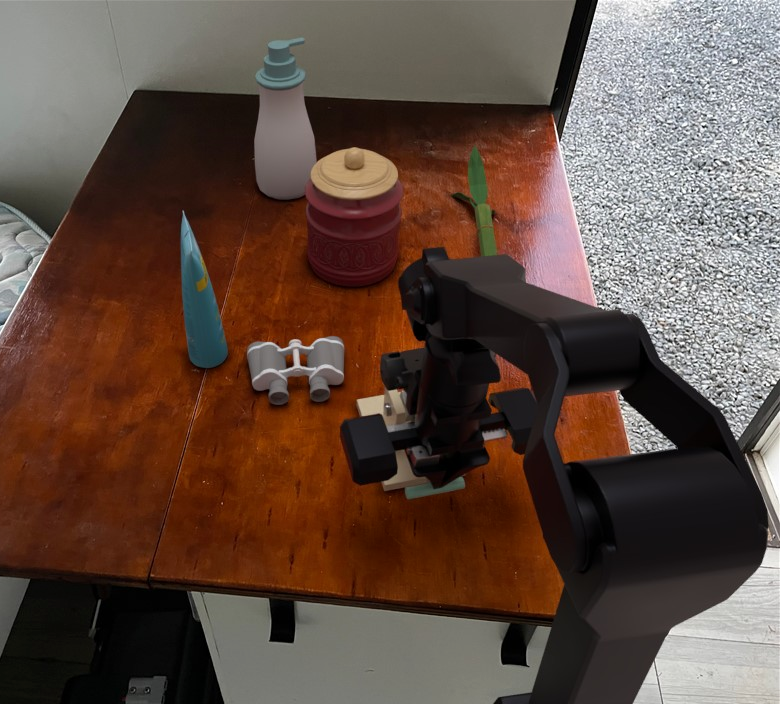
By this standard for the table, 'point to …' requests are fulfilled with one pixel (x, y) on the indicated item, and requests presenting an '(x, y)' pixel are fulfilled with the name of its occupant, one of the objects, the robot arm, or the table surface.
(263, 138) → the soap bottle
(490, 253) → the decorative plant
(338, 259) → the kitchen canister
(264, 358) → the binoculars
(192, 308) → the tube
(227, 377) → the table surface
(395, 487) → the toaster bracket
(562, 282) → the table surface
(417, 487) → the lever
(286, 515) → the table surface
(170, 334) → the table surface
